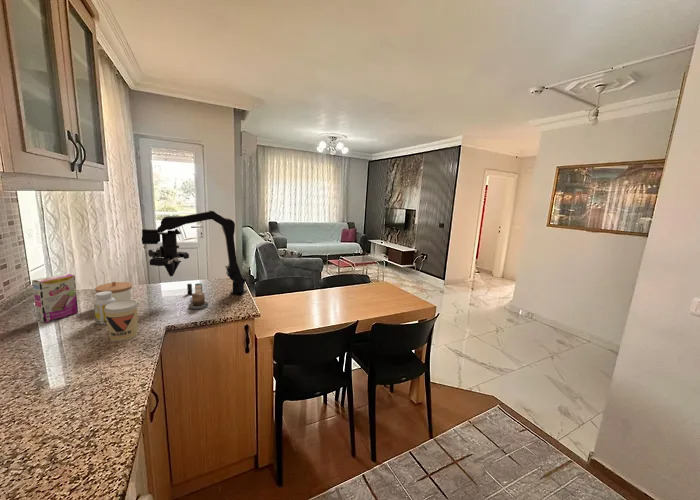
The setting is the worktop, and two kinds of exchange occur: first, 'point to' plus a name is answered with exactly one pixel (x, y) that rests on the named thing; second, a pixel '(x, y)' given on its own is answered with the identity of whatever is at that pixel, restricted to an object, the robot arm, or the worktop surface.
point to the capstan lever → (198, 295)
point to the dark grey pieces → (194, 307)
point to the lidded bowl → (117, 290)
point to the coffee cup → (121, 319)
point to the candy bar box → (55, 297)
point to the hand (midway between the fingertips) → (171, 276)
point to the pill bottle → (102, 305)
